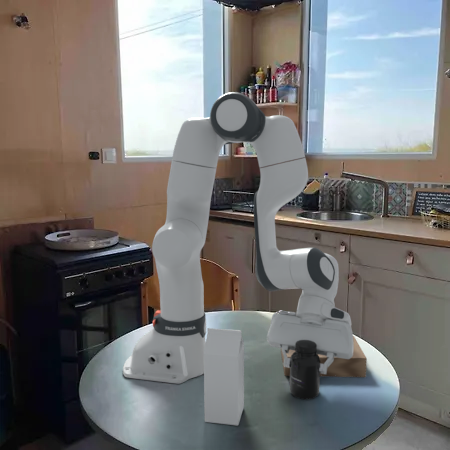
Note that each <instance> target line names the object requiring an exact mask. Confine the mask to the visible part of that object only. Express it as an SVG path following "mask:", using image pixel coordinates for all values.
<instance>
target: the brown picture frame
mask: <svg viewBox="0 0 450 450" xmlns="http://www.w3.org/2000/svg"><path fill="white" fill-rule="evenodd" d="M353 342H354V351H353V356H352V357H351V358H350V359H343V358H337V357H334V361H333V362H332V363H331V365H330V366H329V367H327V374H322V373H320V377H327V378H329V377H331V378H334V377H335V378H344V377H345V378H366V377H367V362H368V361H367V356H366V355H365V353H364V351H363V350H362V348H361V346H360V344H359V342H358V340H357V339H356V337H355V336H354V335H353ZM294 352H295V350H289V353H286V354H287V357H288V358H291V356H292V354H293V353H294ZM280 355H281V361H282V363H281V364H282V367H283V375H284V376H285V377H287V376H288V377H290V368H288V367H284V365H283V363H284V355H283V352H282V348H280ZM317 355H318V356H319V357H320V360H321V364H324V363H325V362H326V360H327V356H325V355H319V354H317Z"/></svg>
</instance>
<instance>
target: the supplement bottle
mask: <svg viewBox="0 0 450 450" xmlns="http://www.w3.org/2000/svg"><path fill="white" fill-rule="evenodd" d="M316 353H317V345H316V343H315V342H313V341H310V340H299V341H297V342H296V344H295V352H294V353H293V354H292V356H291V361H290V376H289V392H290V394H291V395H292V396H294V397H295V398H297V399H301V400H312V399H315V398H317V397H318V396H319V394H320V383H321V376H320V372H319V368H320V363H321V360H320V357H319V356H318V355H317V354H316Z"/></svg>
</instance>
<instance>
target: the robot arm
mask: <svg viewBox="0 0 450 450" xmlns="http://www.w3.org/2000/svg"><path fill="white" fill-rule="evenodd" d="M240 143H241V144H242V143H249V144H250V145H251V146H252V147H253V149H254V152H255V154H256V158H257V162H258V167H259V172H260V182H259V188H258V190H257V191H256V192H255V194H254V197H253V222H254V225H253V226H254V237H255V255H256V258H255V269H254V270H255V276H256V277H255V278H256V280H257V281H258V283H259V284H260V285H261V286H262V287H263V288H264V290H267V291H268V292H277V291H283V290H291V289H292V290H293V289H294V290H297V289H301V290H302V292H301V294H300V297H299V299H298V303H297V308H296V312H294V311H285V310H278V311H276V312H274V313H273V314H272V316H271V319H270V327H269V329H268V331H267V334H266V341H267V342H268V344H269V345H270V347H272V348H277V349H281V348H282V352H283V355H284V363H282V366H283V365H284V367H288V368H290V361H291V358H288V357H287V354H286V353H289V350H295V344H296V342H297V341H299V340H310V341H313V342H315V343H316V345H317V353H316V354H319V355H325V356H327V360H326V362H325V363H324V364H321V363H320V368H319V372H320V373H322V374H327V367H329V366H330V365H331V363H332V362H333V361H334V357H337V358H343V359H350V358H351V357H352V356H353V351H354V342H353V336H354V333H353V329H352V319H351V316H350V314H349V312H347V311H345V310H342V309H340V308H338V307H336V306H335V298H336V296H337V293H338V289H339V288H338V287H339V280H340V279H339V278H340V277H339V276H340V274H339V271H340V270H339V261H337V259H336V258H335V257H334V256H332V255H331V254H328V253H326V252H323V251H322V250H321V249H319V248H318V247H303V248H295V249H287V250H285V249H284V250H279V248H278V246H277V237H276V235H277V234H276V219H275V218H276V215H277V213H278V212H279V210H280V209H281V208H283V206H285V205H286V204H288V203H289V202H291V201H292V200H294V199H295V198H297V196H299V195H300V194H301V193H302V192H303V191H304V189H305V187H306V186H307V183H308V181H309V169H308V164H307V160H306V155H305V150H304V146H303V143H302V140H301V138H300V134H299V132H298V129H297V127H296V124H295V122H294V121H293V120H292V119H291V118H290V117H288V116H285V115H282V114H281V115H279V114H278V115H277V114H276V115H271V116H266V114H265V113H264V112H263V111H262V110H261V108H260V107H259V106H258V105H257V104H256V103H255V101H254V100H253V99H252V98H250V97H249V96H247V95H246V94H243V93H241V92H237V91H235V92H234V91H232V92H227V93H224V94H223V95H220V96H219V97H218V98H216V100H215V101H214V102H213V104H212V107H211V110H210V114H209V117H200V116H199V117H190V118H187V119H185V121H184V122H182V124H181V126H180V129H179V132H178V134H177V138H176V141H175V144H174V148H173V152H172V157H171V163H170V164H171V165H170V170H169V175H168V180H167V188H166V200H167V201H166V202H167V203H166V218H165V223H164V225H162V226H160V228H159V229H158V230H157V231H156V233H155V235H154V238H153V241H152V244H151V245H152V246H151V251H152V256H153V257H154V261H155V267H156V273H157V277H158V282H159V298H160V299H159V300H160V301H159V303H160V306H159V307H160V310H159V309H158V310H156V311H155V313H154V314H153V318H152V327H153V328H152V329H150V330H149V331H148V332H146V333H145V334H143V335H142V336H141V337H140V338H139V339H138V340H137V341H136V343H135V344H134V347H133V349H132V352H131V355H130V356H129V357H128V358H127V359H126V360H125V362H124V364H123V367H122V374H123V376H124V377H125V378H129V379H137V380H145V381H154V382H161V383H162V382H163V383H170V384H175V385H176V384H183V383H185V382H187V381H188V380H190V379H192V378H193V379H194V378H196V377H200V376H202V375H204V349H205V344H206V336H207V335H206V334H207V318H206V316H207V315H206V312H205V311H204V310H205V309H204V308H205V307H204V306H205V304H204V298H205V297H204V281H203V276H202V267H201V251H202V250H203V247H204V246H205V244H206V238H207V232H208V224H209V217H210V211H211V209H210V208H211V199H212V195H213V188H214V185H215V178H216V173H217V167H218V162H219V157H220V153H221V150H222V148H223V146H224V145H231V144H240Z"/></svg>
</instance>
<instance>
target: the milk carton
mask: <svg viewBox="0 0 450 450" xmlns="http://www.w3.org/2000/svg"><path fill="white" fill-rule="evenodd" d="M206 334H207V335H206V338H205V341H206V344H205V349H204V374H203V389H204V390H203V391H204V392H203V396H204V397H203V400H204V402H203V403H204V411H203V412H204V422H205V423H213V424H220V425H229V426H230V425H231V426H240V425H239V424H240V421H241V418H242V414H243V411H244V407H245V403H244V402H245V342H244V339H243V336H242V330H239V329H225V328H222V329H221V328H210V327H208V328H206Z"/></svg>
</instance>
